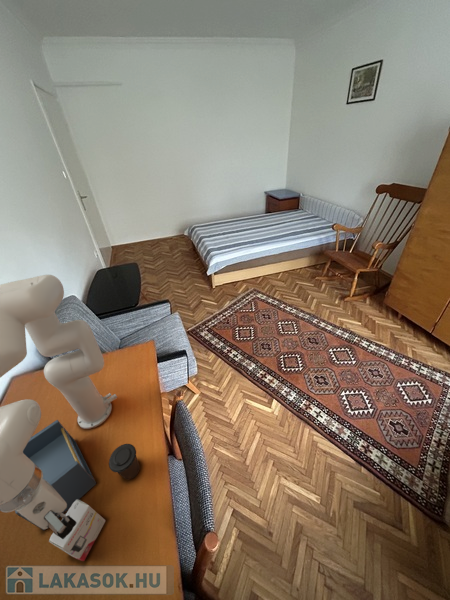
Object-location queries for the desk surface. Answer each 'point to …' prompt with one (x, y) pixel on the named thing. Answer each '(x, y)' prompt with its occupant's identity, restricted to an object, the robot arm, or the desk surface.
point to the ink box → (80, 531)
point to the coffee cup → (124, 461)
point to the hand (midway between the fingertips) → (58, 516)
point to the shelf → (60, 463)
